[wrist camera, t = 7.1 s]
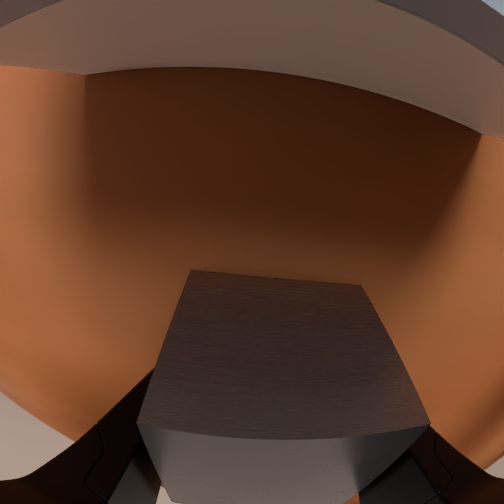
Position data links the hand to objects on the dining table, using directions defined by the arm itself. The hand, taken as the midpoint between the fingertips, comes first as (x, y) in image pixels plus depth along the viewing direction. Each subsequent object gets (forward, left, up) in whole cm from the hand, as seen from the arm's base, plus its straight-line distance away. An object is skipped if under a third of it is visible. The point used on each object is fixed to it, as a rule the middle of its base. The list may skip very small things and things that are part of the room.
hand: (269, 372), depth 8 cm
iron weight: (0, 0, -1) cm, 1 cm away
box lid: (0, -19, +4) cm, 19 cm away
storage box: (0, -19, -2) cm, 19 cm away
